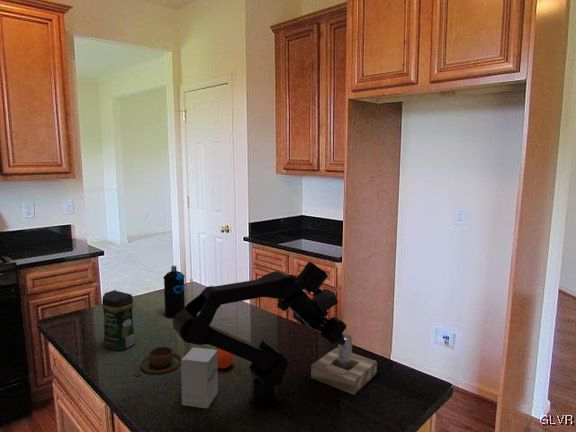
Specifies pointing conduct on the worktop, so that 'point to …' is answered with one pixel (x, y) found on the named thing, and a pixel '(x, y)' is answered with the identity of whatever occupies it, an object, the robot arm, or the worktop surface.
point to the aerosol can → (174, 292)
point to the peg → (345, 353)
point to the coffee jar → (118, 320)
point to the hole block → (344, 372)
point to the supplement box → (199, 377)
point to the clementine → (223, 358)
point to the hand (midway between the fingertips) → (334, 337)
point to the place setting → (159, 360)
